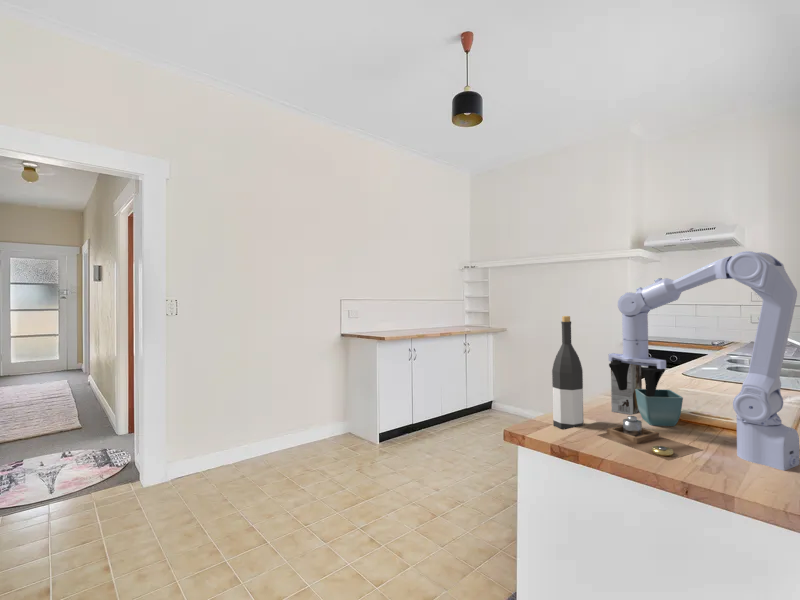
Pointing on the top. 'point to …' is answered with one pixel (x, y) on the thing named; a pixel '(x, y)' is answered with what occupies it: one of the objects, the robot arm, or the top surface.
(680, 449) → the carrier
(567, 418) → the wine bottle
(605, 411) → the top surface
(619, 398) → the coffee box
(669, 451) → the brass domed disc
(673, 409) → the flower pot
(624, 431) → the silver knobbed cylinder
